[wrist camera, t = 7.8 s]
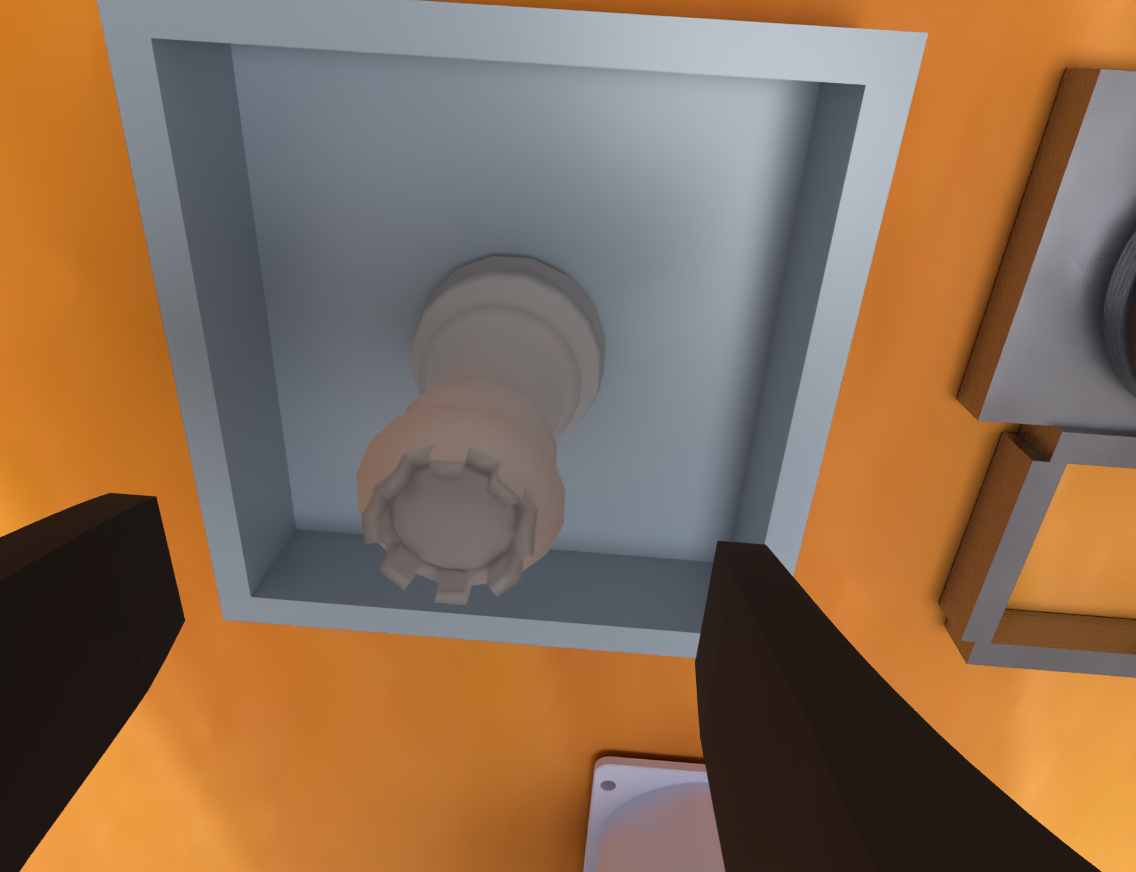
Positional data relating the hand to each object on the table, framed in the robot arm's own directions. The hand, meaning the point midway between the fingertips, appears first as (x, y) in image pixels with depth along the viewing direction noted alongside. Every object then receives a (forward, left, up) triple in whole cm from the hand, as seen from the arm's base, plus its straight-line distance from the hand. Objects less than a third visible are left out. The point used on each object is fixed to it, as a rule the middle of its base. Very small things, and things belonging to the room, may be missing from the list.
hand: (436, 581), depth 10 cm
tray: (0, 0, -10) cm, 10 cm away
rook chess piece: (0, 0, -9) cm, 9 cm away
